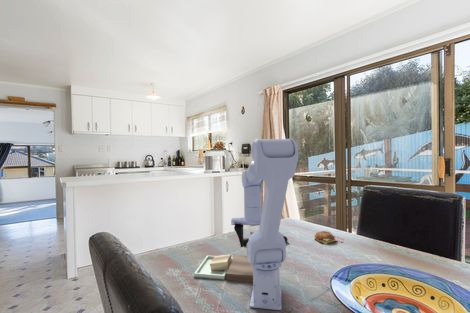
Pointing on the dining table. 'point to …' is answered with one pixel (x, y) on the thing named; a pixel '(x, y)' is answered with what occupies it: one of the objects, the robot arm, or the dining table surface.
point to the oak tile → (220, 262)
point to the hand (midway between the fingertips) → (253, 246)
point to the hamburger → (325, 237)
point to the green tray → (209, 270)
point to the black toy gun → (253, 232)
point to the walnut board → (240, 269)
